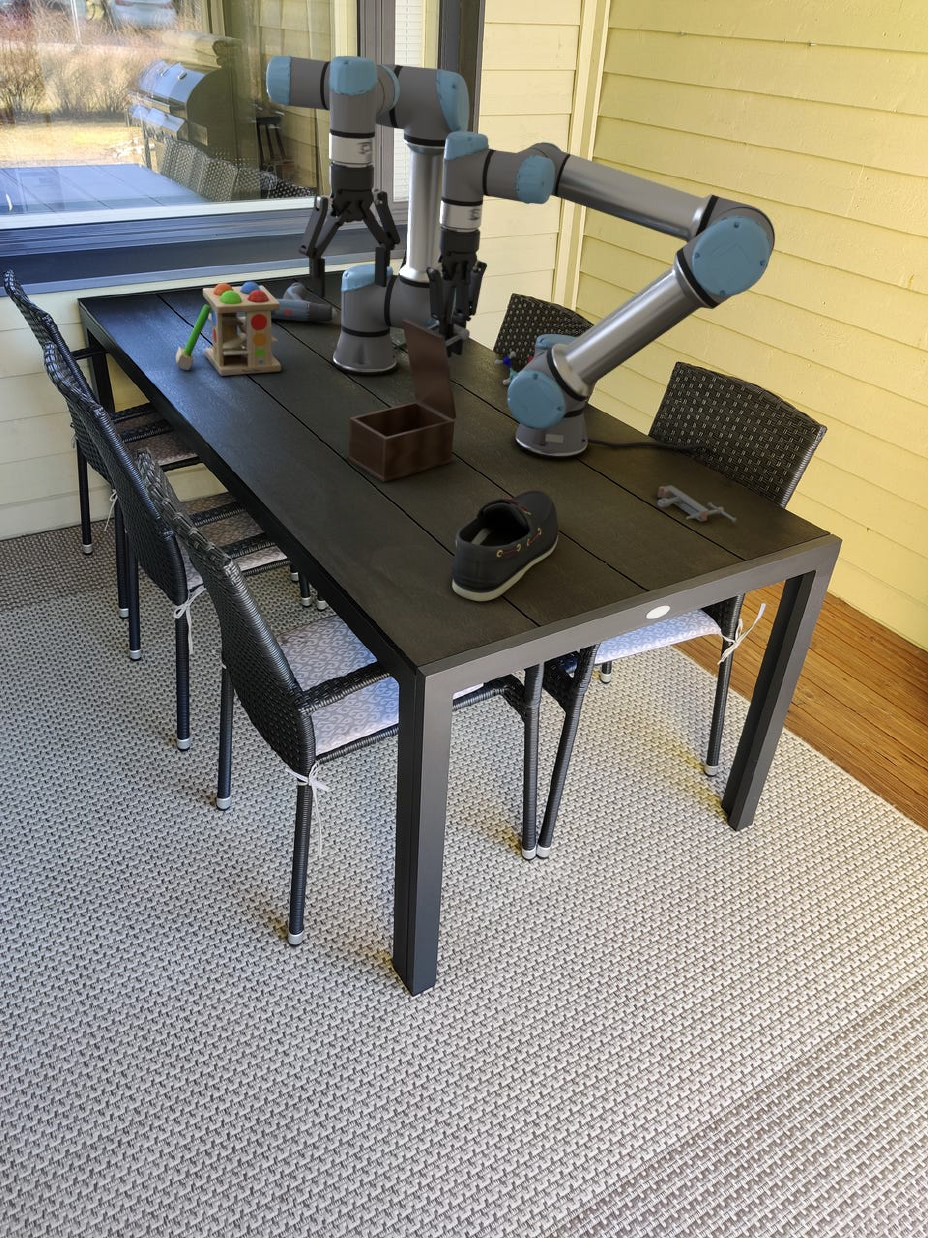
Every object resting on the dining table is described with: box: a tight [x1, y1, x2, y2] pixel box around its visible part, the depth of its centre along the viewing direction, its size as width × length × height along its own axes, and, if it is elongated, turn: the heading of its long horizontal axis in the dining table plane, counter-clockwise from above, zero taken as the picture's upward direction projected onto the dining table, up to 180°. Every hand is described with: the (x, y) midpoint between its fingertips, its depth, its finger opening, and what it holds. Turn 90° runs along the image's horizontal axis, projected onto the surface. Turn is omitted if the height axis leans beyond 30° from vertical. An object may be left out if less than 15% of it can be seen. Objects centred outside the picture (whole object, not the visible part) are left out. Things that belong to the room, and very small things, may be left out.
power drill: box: [271, 282, 338, 322], centre depth 265 cm, size 5×19×20 cm
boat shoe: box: [450, 489, 559, 602], centre depth 165 cm, size 13×33×10 cm, turn 147°
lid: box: [402, 318, 471, 420], centre depth 190 cm, size 18×12×8 cm
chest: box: [348, 400, 455, 483], centre depth 193 cm, size 17×12×9 cm
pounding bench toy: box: [174, 281, 282, 377], centre depth 225 cm, size 23×14×18 cm, turn 116°
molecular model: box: [494, 351, 534, 386], centre depth 232 cm, size 12×10×10 cm
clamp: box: [656, 485, 738, 523], centre depth 187 cm, size 15×2×10 cm
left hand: (350, 290), depth 177 cm, fingers open, 13 cm apart
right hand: (450, 353), depth 191 cm, fingers closed on lid, 2 cm apart
